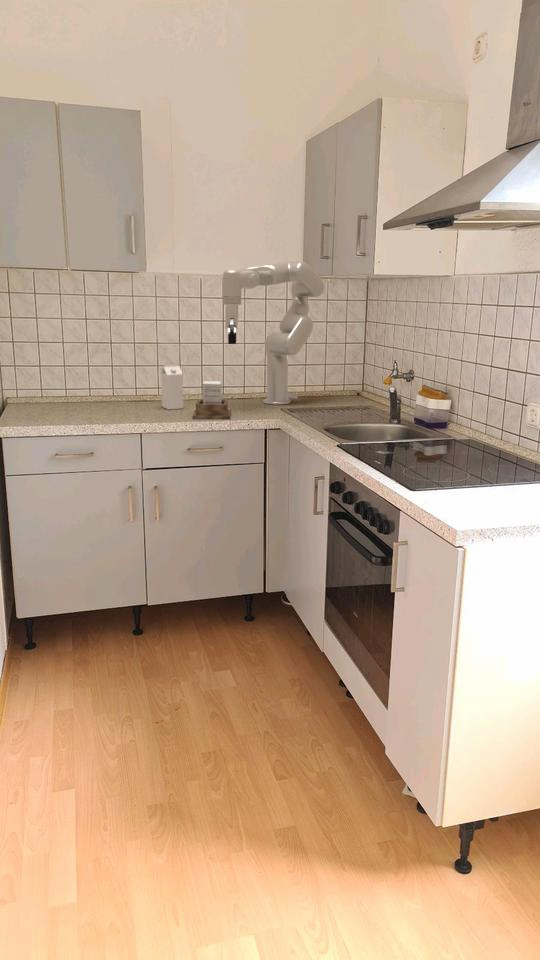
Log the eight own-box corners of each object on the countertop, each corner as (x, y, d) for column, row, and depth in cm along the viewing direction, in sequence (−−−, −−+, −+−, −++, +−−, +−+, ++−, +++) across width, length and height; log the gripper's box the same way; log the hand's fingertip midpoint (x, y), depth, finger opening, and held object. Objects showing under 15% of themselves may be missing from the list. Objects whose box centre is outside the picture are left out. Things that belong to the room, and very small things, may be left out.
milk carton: (162, 407, 307) (160, 363, 302) (177, 406, 310) (176, 362, 305) (167, 409, 301) (166, 365, 296) (183, 408, 304) (182, 364, 299)
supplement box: (204, 411, 292) (203, 380, 289) (222, 411, 292) (221, 381, 289) (202, 414, 285) (202, 383, 282) (221, 414, 285) (220, 383, 282)
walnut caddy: (230, 412, 297) (230, 399, 295) (230, 419, 282) (229, 405, 281) (195, 412, 296) (194, 399, 295) (192, 419, 282) (192, 405, 280)
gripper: (223, 300, 301) (224, 341, 305) (222, 301, 284) (222, 344, 289) (241, 300, 301) (241, 341, 306) (241, 301, 284) (241, 344, 289)
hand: (232, 342), depth 297 cm, fingers open, 9 cm apart
